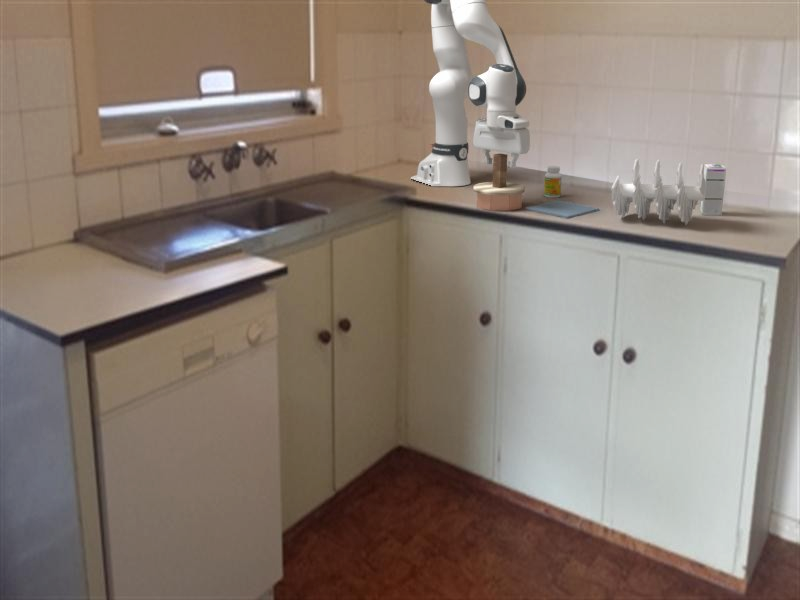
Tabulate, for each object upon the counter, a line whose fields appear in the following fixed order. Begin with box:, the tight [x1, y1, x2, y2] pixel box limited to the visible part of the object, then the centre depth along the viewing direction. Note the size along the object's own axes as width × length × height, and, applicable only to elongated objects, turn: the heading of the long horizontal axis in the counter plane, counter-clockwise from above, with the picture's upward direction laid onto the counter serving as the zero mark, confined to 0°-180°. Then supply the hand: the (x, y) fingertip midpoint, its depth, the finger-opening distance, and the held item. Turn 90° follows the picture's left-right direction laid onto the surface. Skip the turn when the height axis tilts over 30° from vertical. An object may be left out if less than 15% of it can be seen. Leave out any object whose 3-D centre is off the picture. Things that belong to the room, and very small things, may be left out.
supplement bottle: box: [543, 165, 563, 199], centre depth 283 cm, size 5×5×10 cm
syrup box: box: [699, 163, 727, 217], centre depth 258 cm, size 6×6×14 cm
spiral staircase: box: [610, 158, 705, 226], centre depth 250 cm, size 18×18×25 cm
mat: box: [524, 199, 601, 219], centre depth 265 cm, size 16×16×1 cm
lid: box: [473, 152, 526, 195], centre depth 268 cm, size 16×16×11 cm
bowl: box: [476, 192, 523, 212], centre depth 270 cm, size 14×14×5 cm
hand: (500, 165), depth 267 cm, fingers open, 8 cm apart
